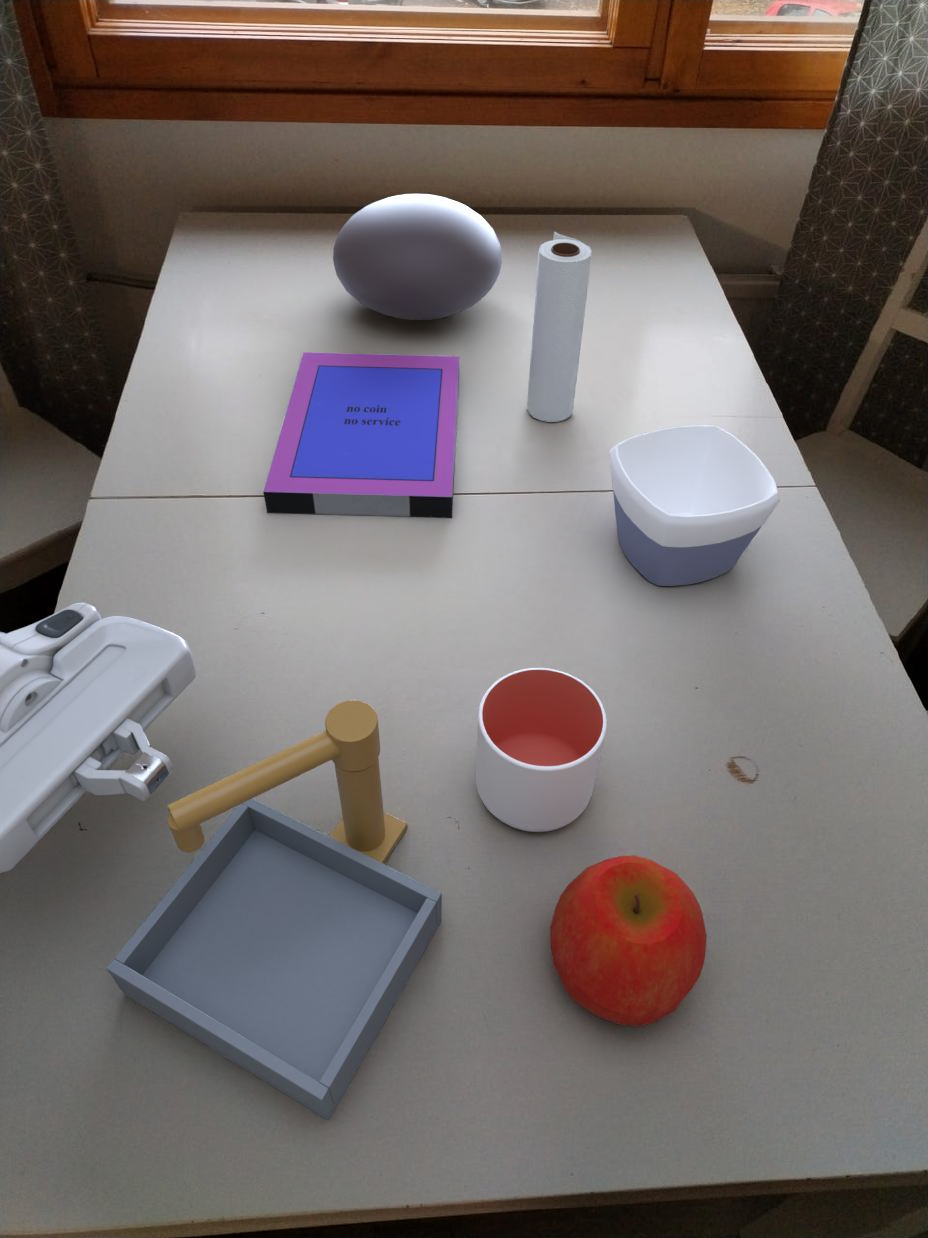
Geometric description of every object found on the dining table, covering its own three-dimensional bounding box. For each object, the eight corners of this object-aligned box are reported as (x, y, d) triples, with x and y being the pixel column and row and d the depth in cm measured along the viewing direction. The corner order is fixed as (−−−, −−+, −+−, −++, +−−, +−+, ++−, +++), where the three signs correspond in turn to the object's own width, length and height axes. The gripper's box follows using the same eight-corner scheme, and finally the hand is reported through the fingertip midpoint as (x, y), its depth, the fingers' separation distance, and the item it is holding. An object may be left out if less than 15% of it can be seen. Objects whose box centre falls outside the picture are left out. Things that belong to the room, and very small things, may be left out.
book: (263, 491, 99) (303, 351, 120) (267, 512, 101) (305, 371, 122) (452, 497, 99) (459, 356, 119) (452, 517, 101) (459, 376, 122)
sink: (328, 1121, 59) (321, 1100, 55) (122, 994, 64) (105, 968, 61) (442, 920, 68) (441, 893, 65) (254, 824, 74) (246, 794, 70)
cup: (609, 767, 78) (625, 695, 71) (563, 858, 72) (577, 790, 65) (506, 723, 81) (512, 650, 74) (454, 807, 75) (455, 737, 68)
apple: (675, 893, 70) (704, 821, 62) (707, 1037, 63) (744, 976, 55) (539, 897, 70) (550, 826, 62) (555, 1043, 62) (570, 983, 54)
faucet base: (376, 877, 71) (366, 794, 62) (323, 850, 72) (306, 765, 63) (408, 827, 74) (403, 742, 65) (356, 803, 75) (345, 716, 66)
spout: (187, 868, 59) (171, 831, 55) (168, 827, 61) (152, 789, 57) (390, 766, 64) (387, 727, 61) (366, 731, 66) (362, 692, 63)
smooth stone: (335, 349, 126) (325, 244, 115) (338, 269, 143) (329, 171, 132) (508, 344, 128) (514, 240, 117) (491, 265, 145) (494, 168, 134)
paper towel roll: (562, 428, 113) (581, 264, 98) (519, 416, 115) (530, 253, 100) (582, 400, 118) (603, 239, 102) (540, 389, 120) (554, 228, 104)
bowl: (701, 495, 105) (722, 413, 97) (772, 581, 95) (803, 499, 87) (581, 520, 101) (593, 438, 93) (642, 613, 91) (661, 530, 83)
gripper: (-138, 787, 56) (24, 883, 52) (96, 587, 68) (242, 650, 64) (-94, 839, 60) (58, 931, 56) (118, 642, 73) (255, 705, 69)
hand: (158, 779), depth 60 cm, fingers closed
